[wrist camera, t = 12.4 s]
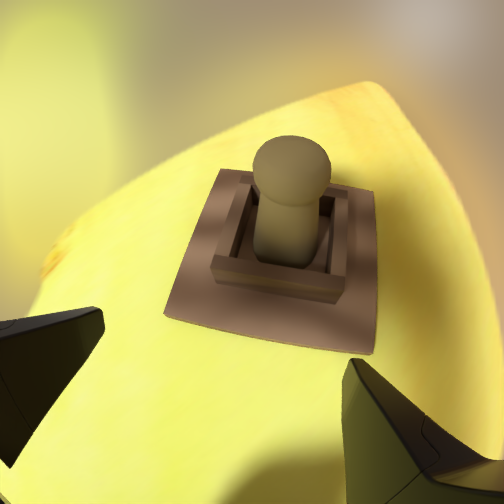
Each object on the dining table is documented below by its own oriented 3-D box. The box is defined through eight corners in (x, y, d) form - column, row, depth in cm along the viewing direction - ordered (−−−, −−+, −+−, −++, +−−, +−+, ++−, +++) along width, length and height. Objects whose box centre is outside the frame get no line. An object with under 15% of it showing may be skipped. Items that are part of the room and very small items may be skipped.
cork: (246, 225, 26) (236, 130, 17) (305, 213, 27) (318, 120, 17) (261, 280, 23) (257, 191, 14) (326, 264, 24) (358, 174, 14)
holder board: (369, 355, 20) (387, 345, 17) (167, 316, 23) (150, 301, 20) (370, 197, 29) (380, 172, 26) (221, 174, 32) (217, 149, 28)
